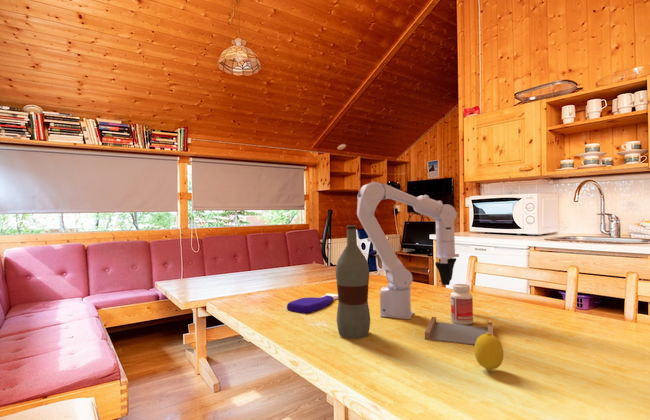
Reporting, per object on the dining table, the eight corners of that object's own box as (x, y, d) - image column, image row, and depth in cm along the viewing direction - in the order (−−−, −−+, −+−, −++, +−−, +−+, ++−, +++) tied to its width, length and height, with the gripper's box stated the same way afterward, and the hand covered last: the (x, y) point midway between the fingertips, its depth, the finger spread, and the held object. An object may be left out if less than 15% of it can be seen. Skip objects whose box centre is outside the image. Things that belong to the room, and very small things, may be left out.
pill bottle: (477, 322, 108) (476, 285, 108) (464, 326, 105) (463, 288, 105) (459, 318, 113) (458, 282, 113) (446, 321, 110) (446, 285, 110)
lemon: (470, 366, 78) (469, 329, 78) (494, 364, 79) (493, 327, 79) (483, 377, 73) (482, 337, 73) (509, 376, 73) (508, 336, 73)
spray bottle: (308, 306, 121) (346, 293, 141) (283, 302, 127) (323, 290, 147) (308, 315, 121) (346, 301, 141) (283, 311, 127) (323, 297, 147)
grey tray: (424, 339, 95) (424, 332, 95) (432, 322, 109) (432, 316, 109) (493, 347, 89) (493, 340, 89) (492, 328, 102) (492, 322, 102)
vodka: (373, 330, 103) (371, 224, 103) (366, 341, 95) (364, 226, 95) (342, 327, 106) (340, 224, 106) (332, 337, 98) (330, 226, 98)
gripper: (456, 243, 111) (458, 287, 111) (459, 238, 124) (461, 278, 124) (432, 243, 114) (434, 286, 114) (438, 239, 127) (439, 277, 127)
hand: (446, 282), depth 119 cm, fingers open, 7 cm apart
